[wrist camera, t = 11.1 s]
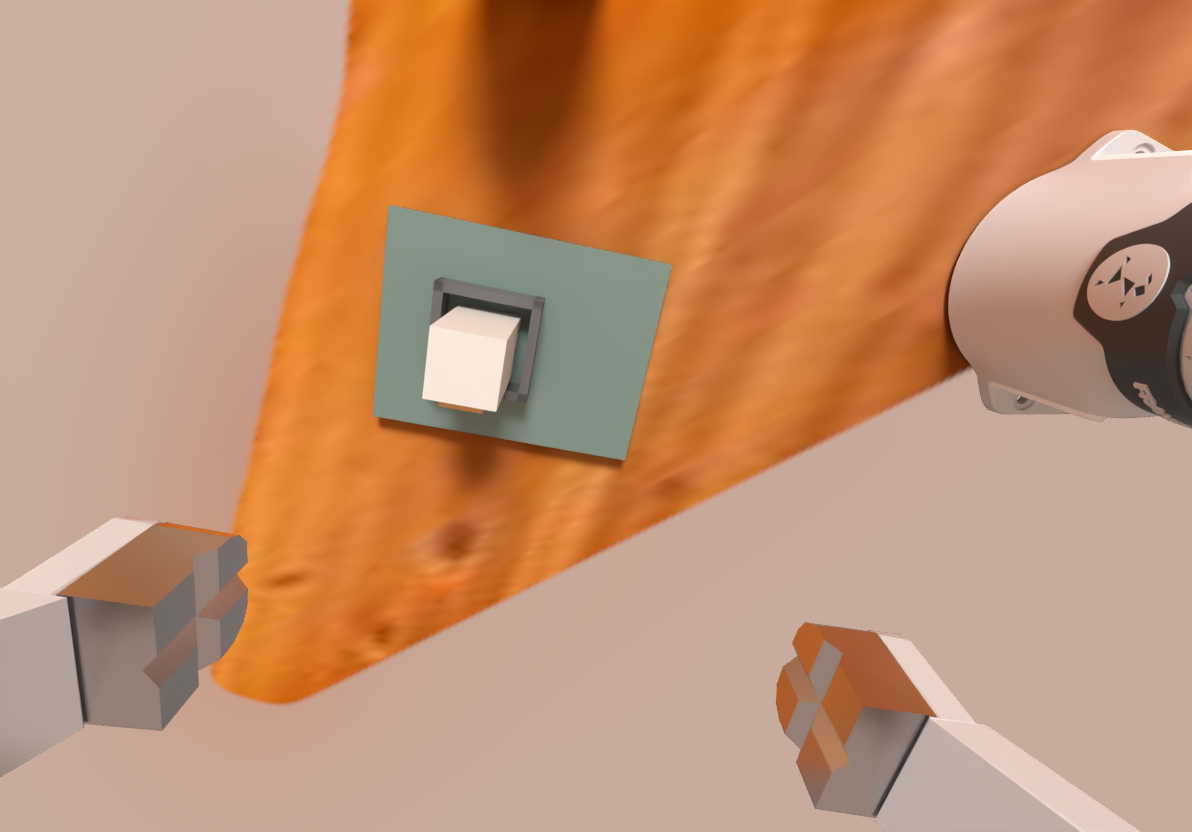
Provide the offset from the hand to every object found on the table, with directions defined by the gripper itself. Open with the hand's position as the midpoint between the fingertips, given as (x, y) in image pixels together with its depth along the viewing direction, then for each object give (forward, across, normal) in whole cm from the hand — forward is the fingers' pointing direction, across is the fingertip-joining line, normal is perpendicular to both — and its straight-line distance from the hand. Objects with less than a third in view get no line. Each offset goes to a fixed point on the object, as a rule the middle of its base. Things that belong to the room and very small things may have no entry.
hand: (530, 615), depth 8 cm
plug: (+30, +5, +3) cm, 30 cm away
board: (+31, +3, +3) cm, 31 cm away
